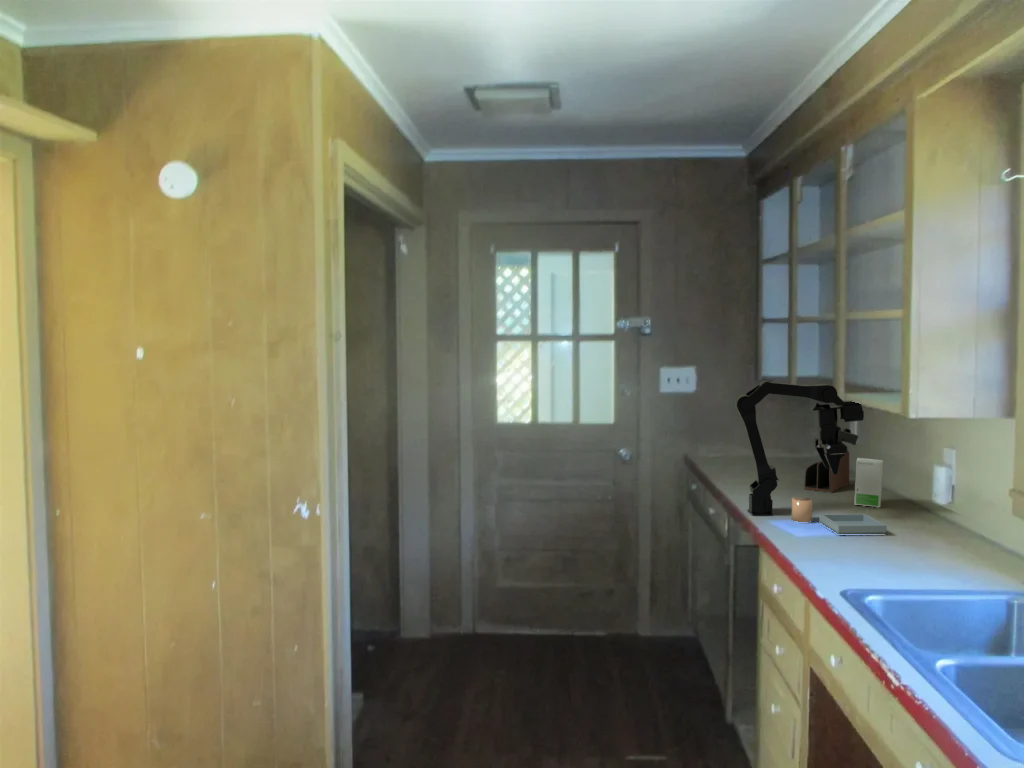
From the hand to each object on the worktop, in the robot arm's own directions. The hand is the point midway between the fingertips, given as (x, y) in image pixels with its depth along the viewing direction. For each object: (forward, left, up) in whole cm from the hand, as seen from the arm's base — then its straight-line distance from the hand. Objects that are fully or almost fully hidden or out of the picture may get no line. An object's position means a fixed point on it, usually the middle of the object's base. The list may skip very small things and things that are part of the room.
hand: (831, 471), depth 251 cm
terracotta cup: (-12, -6, -14) cm, 19 cm away
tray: (-1, -17, -14) cm, 22 cm away
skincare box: (+18, +14, -15) cm, 27 cm away
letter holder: (+17, +44, -15) cm, 49 cm away
